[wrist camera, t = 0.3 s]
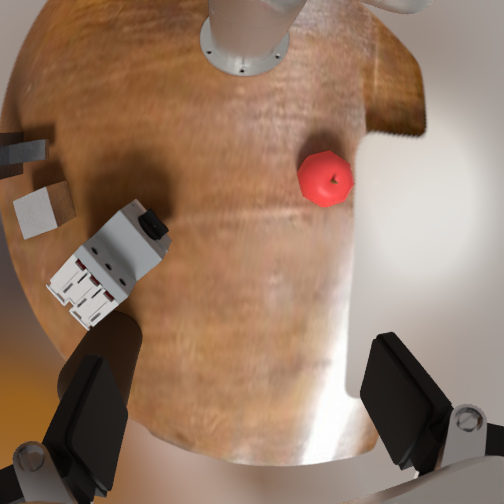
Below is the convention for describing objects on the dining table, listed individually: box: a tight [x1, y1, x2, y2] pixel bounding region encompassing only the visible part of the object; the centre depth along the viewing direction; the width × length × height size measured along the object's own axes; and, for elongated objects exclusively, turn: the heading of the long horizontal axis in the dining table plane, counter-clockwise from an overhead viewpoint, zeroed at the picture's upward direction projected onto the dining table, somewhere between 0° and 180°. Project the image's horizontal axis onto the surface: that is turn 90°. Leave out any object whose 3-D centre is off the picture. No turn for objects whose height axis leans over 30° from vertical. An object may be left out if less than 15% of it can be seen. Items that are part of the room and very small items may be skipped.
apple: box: [297, 150, 354, 207], centre depth 40 cm, size 8×8×8 cm
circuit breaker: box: [46, 199, 172, 331], centre depth 37 cm, size 8×14×15 cm, turn 127°
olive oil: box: [57, 311, 142, 406], centre depth 37 cm, size 11×11×25 cm
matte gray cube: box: [13, 181, 76, 240], centre depth 37 cm, size 7×6×6 cm
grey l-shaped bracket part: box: [0, 132, 49, 180], centre depth 30 cm, size 7×9×14 cm
